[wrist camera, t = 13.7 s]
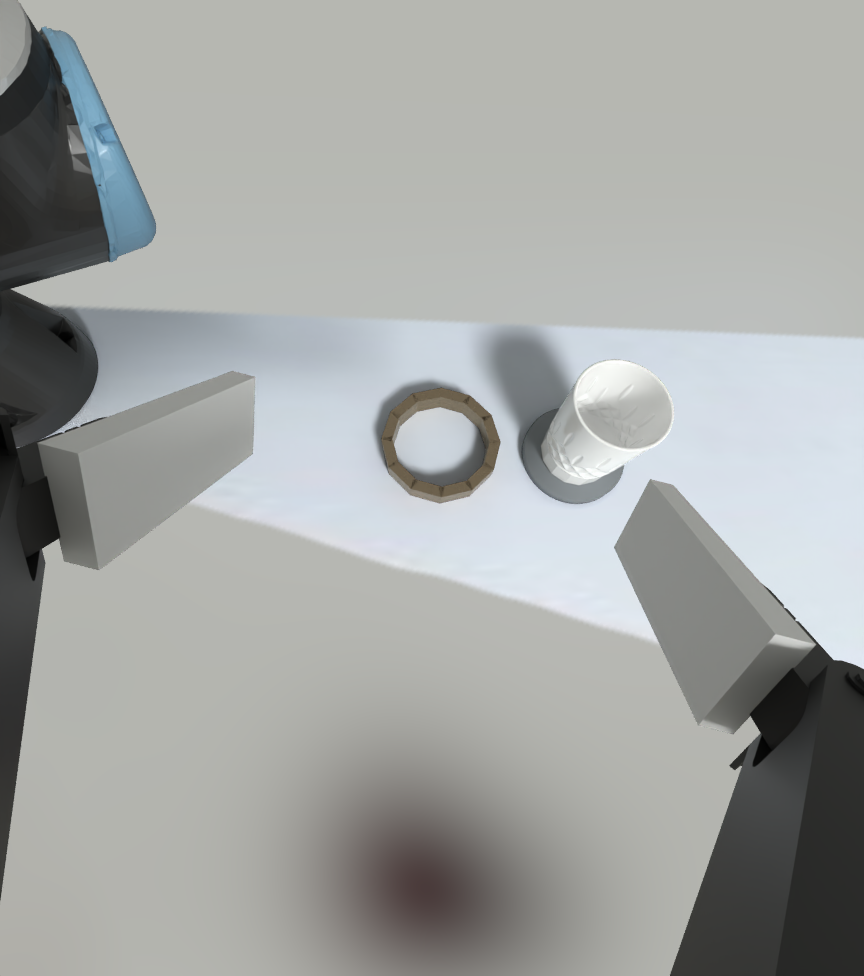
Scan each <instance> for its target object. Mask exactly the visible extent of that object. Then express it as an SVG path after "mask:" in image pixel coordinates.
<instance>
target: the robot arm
mask: <svg viewBox="0 0 864 976" xmlns="http://www.w3.org/2000/svg"><path fill="white" fill-rule="evenodd" d="M155 233H156V223H155V219H154V217H153V214H152V212H151V210H150V207H149V205H148V203H147V201H146V198H145V196H144V194H143V191H142V189H141V187H140V185H139V182H138V180H137V178H136V176H135V173H134V171H133V169H132V166H131V164H130V162H129V160H128V157H127V155H126V153H125V151H124V148H123V146H122V144H121V142H120V140H119V137H118V135H117V133H116V131H115V129H114V126H113V124H112V122H111V120H110V117H109V115H108V113H107V110H106V108H105V106H104V104H103V101H102V100H101V97H100V95H99V93H98V90H97V88H96V86H95V84H94V82H93V79H92V77H91V75H90V73H89V71H88V68H87V66H86V64H85V62H84V60H83V58H82V56H81V54H80V51H79V49H78V47H77V45H76V43H75V41H74V40H73V38H72V37H71V36H70V35H69V34H67V33H66V32H63V31H55V30H52V29H50V28H48V29H47V28H46V27H43V28H41V30H40V31H39V32H38V31H37V30H36V28H35V27H34V25H33V24H32V22H31V20H30V19H29V17H28V16H27V14H26V13H25V11H24V9H23V8H22V6H21V5H20V3H19V2H18V0H0V898H1V891H2V884H3V876H4V868H5V861H6V854H7V846H8V839H9V831H10V824H11V816H12V808H13V801H14V793H15V786H16V779H17V771H18V763H19V756H20V748H21V741H22V734H23V726H24V719H25V711H26V704H27V696H28V689H29V681H30V673H31V666H32V658H33V651H34V643H35V636H36V629H37V621H38V614H39V606H40V599H41V591H42V583H43V576H44V568H45V560H44V556H43V552H42V548H44V547H45V546H47V545H49V544H50V543H52V542H54V541H55V540H57V539H59V541H60V545H61V550H62V554H63V559H64V561H65V562H69V563H73V564H77V565H81V566H85V567H88V568H92V569H96V570H100V569H101V568H103V567H104V566H105V565H107V564H108V563H109V562H111V561H112V560H113V559H115V558H116V557H117V556H119V555H120V554H121V553H122V552H124V551H125V550H126V549H128V548H129V547H130V546H132V545H133V544H134V543H136V542H137V541H138V540H140V539H141V538H142V537H144V536H145V535H146V534H148V533H149V532H150V531H152V530H153V529H154V528H156V527H157V526H158V525H160V524H161V523H162V522H164V521H165V520H166V519H167V518H169V517H170V516H171V515H173V514H174V513H175V512H177V511H178V510H179V509H181V508H182V507H183V506H185V505H186V504H187V503H189V502H190V501H191V500H193V499H194V498H195V497H197V496H198V495H199V494H201V493H202V492H203V491H205V490H206V489H207V488H209V487H210V486H211V485H212V484H214V483H215V482H216V481H218V480H219V479H220V478H222V477H223V476H224V475H226V474H227V473H228V472H230V471H231V470H232V469H234V468H235V467H236V466H238V465H239V464H240V463H242V462H243V461H244V460H246V459H247V458H248V457H249V456H251V455H252V454H253V435H254V404H255V377H253V376H249V375H246V374H242V373H238V372H234V371H231V372H228V373H226V374H223V375H220V376H218V377H215V378H212V379H210V380H207V381H204V382H201V383H199V384H196V385H193V386H191V387H188V388H185V389H182V390H180V391H177V392H174V393H172V394H169V395H166V396H163V397H161V398H158V399H155V400H153V401H150V402H147V403H144V404H142V405H139V406H136V407H134V408H131V409H128V410H126V411H123V412H120V413H117V414H115V415H112V416H109V417H104V418H99V419H96V420H93V421H91V422H88V423H85V424H83V425H81V427H74V428H72V429H69V430H66V431H65V433H62V432H61V433H58V434H55V435H52V436H50V437H47V438H44V437H46V436H48V435H50V434H52V433H53V432H55V431H57V430H58V429H59V428H61V427H62V426H64V425H65V424H66V423H67V422H69V421H70V420H71V419H72V418H73V417H74V416H75V415H76V414H77V413H78V412H79V410H80V409H81V408H82V407H83V405H84V404H85V403H86V401H87V400H88V398H89V396H90V394H91V392H92V390H93V387H94V385H95V381H96V377H97V366H98V365H97V357H96V353H95V350H94V348H93V346H92V344H91V342H90V341H89V339H88V338H87V337H86V336H85V335H84V333H83V332H81V331H80V330H79V329H78V328H77V327H76V326H75V325H74V324H73V323H71V322H70V321H69V320H68V319H67V318H66V317H64V316H63V315H61V314H60V313H58V312H57V311H55V310H53V309H51V308H49V307H47V306H45V305H43V304H41V303H38V302H36V301H34V300H32V299H30V298H28V297H26V296H24V295H21V294H19V293H17V292H15V291H13V290H11V288H15V287H19V286H22V285H26V284H29V283H33V282H36V281H40V280H43V279H47V278H50V277H54V276H57V275H60V274H65V273H68V272H71V271H75V270H79V269H82V268H86V267H89V266H93V265H96V264H99V263H103V262H107V261H109V262H113V261H115V260H116V259H117V257H118V256H121V255H123V254H126V253H129V252H131V251H134V250H137V249H139V248H142V247H145V246H147V245H148V244H149V243H150V242H151V241H152V240H153V238H154V236H155ZM42 438H44V439H42ZM40 439H41V440H40ZM38 440H39V441H38ZM27 444H28V445H27ZM24 445H25V446H24ZM21 446H22V447H21ZM16 447H19V448H17V449H16ZM614 548H615V550H616V552H617V555H618V557H619V559H620V561H621V563H622V565H623V567H624V569H625V571H626V574H627V576H628V578H629V580H630V582H631V584H632V586H633V588H634V591H635V593H636V595H637V597H638V599H639V601H640V603H641V605H642V607H643V610H644V612H645V614H646V616H647V618H648V620H649V622H650V624H651V627H652V629H653V631H654V633H655V635H656V637H657V639H658V641H659V643H660V646H661V648H662V650H663V652H664V654H665V656H666V658H667V660H668V662H669V665H670V667H671V669H672V671H673V673H674V675H675V677H676V679H677V681H678V683H679V686H680V688H681V690H682V692H683V694H684V696H685V698H686V701H687V703H688V705H689V707H690V709H691V711H692V713H693V715H694V718H695V720H696V722H697V724H698V725H699V726H703V727H707V728H711V729H715V730H718V731H722V732H726V733H730V734H734V733H735V732H736V731H737V730H738V729H739V727H740V726H741V725H742V724H743V723H744V722H745V721H746V720H747V719H748V718H749V717H750V716H751V718H752V719H753V721H754V722H755V724H756V726H757V727H758V729H759V731H760V732H761V734H760V735H759V736H758V737H757V738H756V739H755V740H754V741H753V742H752V743H751V744H750V745H749V746H748V747H747V748H746V749H745V750H744V751H743V752H742V753H741V754H740V755H739V756H738V757H737V758H736V759H735V760H734V761H733V762H732V764H731V765H730V767H731V768H733V769H734V770H736V769H737V768H738V767H739V766H742V768H741V771H740V774H739V777H738V780H737V783H736V786H735V788H734V791H733V794H732V797H731V800H730V803H729V806H728V809H727V812H726V815H725V817H724V820H723V823H722V826H721V829H720V832H719V835H718V838H717V841H716V844H715V847H714V849H713V852H712V855H711V858H710V861H709V864H708V867H707V870H706V873H705V876H704V878H703V881H702V884H701V887H700V890H699V893H698V896H697V898H696V901H695V904H694V907H693V910H692V913H691V916H690V919H689V922H688V925H687V927H686V930H685V933H684V936H683V939H682V942H681V945H680V948H679V951H678V954H677V956H676V959H675V962H674V965H673V968H672V971H671V974H670V976H864V669H862V668H860V667H858V666H856V665H853V664H850V663H847V662H844V661H837V660H833V659H832V658H831V657H830V656H829V655H828V653H827V652H826V651H825V650H824V649H823V648H822V647H821V646H820V645H819V644H818V642H817V641H816V640H815V639H814V638H813V637H812V636H811V635H810V634H809V632H808V631H807V630H806V629H805V628H804V627H803V626H802V625H801V624H800V623H799V622H798V621H795V619H796V618H795V617H794V616H793V615H792V614H791V613H790V612H789V610H788V609H786V608H784V605H783V604H782V603H781V602H780V600H779V599H778V598H777V597H776V596H775V595H774V594H773V593H772V592H771V591H770V590H769V589H768V588H767V587H765V586H764V585H763V584H761V582H760V581H759V580H758V579H757V578H756V577H755V576H754V575H753V574H752V572H751V571H750V570H749V569H748V568H747V567H746V566H745V565H744V564H743V562H742V561H741V560H740V559H739V558H738V557H737V556H736V555H735V554H734V552H733V551H732V550H731V549H730V548H729V547H728V546H727V545H726V543H725V542H724V541H723V540H722V539H721V538H720V537H719V536H718V535H717V533H716V532H715V531H714V530H713V529H712V528H711V527H710V526H709V525H708V523H707V522H706V521H705V520H704V519H703V518H702V517H701V516H700V515H699V513H698V512H697V511H696V510H695V509H694V508H693V507H692V506H691V504H690V503H689V502H688V501H687V500H686V499H685V498H684V497H683V496H682V494H681V493H680V492H679V491H678V490H677V489H676V488H675V487H674V486H673V485H671V484H667V483H663V482H659V481H655V480H651V479H650V480H649V482H648V484H647V486H646V488H645V490H644V492H643V494H642V496H641V497H640V499H639V501H638V503H637V505H636V507H635V509H634V511H633V513H632V514H631V516H630V518H629V520H628V522H627V524H626V526H625V528H624V530H623V532H622V533H621V535H620V537H619V539H618V541H617V543H616V545H615V547H614Z"/></svg>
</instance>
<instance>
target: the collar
mask: <svg viewBox="0 0 864 976" xmlns="http://www.w3.org/2000/svg"><path fill="white" fill-rule="evenodd" d="M437 407H442V408H446V409H449V410H453V411H456V412H460V413H463V414H464V415H465V416H466V417H467V418H468V419H469V420H470V421H471V422H473V423H474V424H475V425H476V426H477V427H478V428H479V430H480V433H481V436H482V439H483V442H484V445H485V448H486V452H485V456H484V460H483V464H482V467H481V468H479V469H478V470H477V471H476V472H475V473H474V474H473V475H472V476H471V477H470V478H469V479H468V480H467V481H463V482H459V483H455V484H451V485H446V486H442V487H441V486H438V485H434V484H430V483H427V482H423V481H420V480H416V479H415V478H414V477H413V476H412V475H411V474H410V473H409V472H408V471H407V470H406V469H405V468H404V467H403V466H402V465H401V464H400V463H399V462H398V459H397V455H396V451H395V447H394V443H395V440H396V437H397V434H398V430H399V427H400V426H401V425H402V424H403V423H404V422H405V421H407V420H408V419H409V418H410V417H411V416H412V415H414V414H415V413H416V412H418V411H422V410H427V409H432V408H437ZM381 440H382V447H383V451H384V455H385V459H386V463H387V467H388V471H389V474H390V475H391V476H392V477H393V478H394V479H395V480H396V481H397V482H398V483H399V484H400V485H401V486H402V487H403V488H404V489H405V490H406V491H407V492H408V493H409V494H410V495H412V496H415V497H419V498H422V499H426V500H430V501H433V502H437V503H443V502H448V501H452V500H456V499H460V498H464V497H469V496H470V495H471V494H472V493H473V492H474V491H475V490H476V489H477V488H478V487H479V486H480V485H482V484H483V483H484V482H485V481H486V480H487V479H488V478H489V477H490V475H491V474H492V472H493V470H494V467H495V462H496V458H497V454H498V450H499V446H500V439H499V436H498V433H497V430H496V427H495V424H494V421H493V418H492V415H491V414H490V413H489V412H487V411H486V410H485V409H484V408H483V407H482V406H481V405H480V404H479V403H478V402H476V401H475V400H474V399H473V398H472V397H471V396H470V395H466V394H462V393H459V392H455V391H451V390H448V389H444V388H438V389H433V390H428V391H423V392H418V393H413V394H411V395H410V396H409V397H408V398H407V399H405V400H404V401H403V402H402V403H401V404H399V405H398V406H397V407H396V408H395V409H393V410H392V411H391V412H390V415H389V418H388V421H387V424H386V427H385V429H384V432H383V435H382V438H381Z"/></svg>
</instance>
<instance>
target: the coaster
mask: <svg viewBox="0 0 864 976" xmlns="http://www.w3.org/2000/svg"><path fill="white" fill-rule="evenodd" d="M559 409H560V408H558V409H555V410H551V411H549V412H547V413H545V414H543V415H542V416H540V417H539V418H538V419H537V420H536V421H535V422H534V423H533V425H532V426H531V428H530V429H529V431H528V432H527V434H526V436H525V439H524V442H523V448H522V456H523V462H524V466H525V469H526V471H527V473H528V475H529V477H530V479H531V480H532V481H533V483H534V484H535V485H536V486H537V487H538V488H539V489H540V490H541V491H543V492H544V493H545V494H547V495H548V496H550V497H552V498H554V499H556V500H559V501H561V502H565V503H571V504H583V503H589V502H592V501H595V500H597V499H599V498H601V497H602V496H604V495H605V494H607V493H608V492H610V491H611V490H612V489H613V488H614V487H615V486H616V484H617V483H618V481H619V480H620V478H621V475H622V472H623V468H624V465H623V466H621V467H619V468H617V469H616V470H614V471H613V472H611V473H609V474H607V475H604V476H602V477H601V478H599V479H598V480H596V481H594V482H591V483H587V484H583V485H575V484H570V483H565V482H563V481H562V480H560V479H559V478H557V477H556V476H554V475H553V474H551V472H550V471H549V469H548V468H547V466H546V465H545V463H544V461H543V458H542V450H541V445H542V442H543V439H544V437H545V434H546V432H547V431H548V429H549V427H550V425H551V423H552V421H553V419H554V417H555V416H556V414H557V412H558V411H559Z"/></svg>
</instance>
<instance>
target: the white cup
mask: <svg viewBox="0 0 864 976" xmlns="http://www.w3.org/2000/svg"><path fill="white" fill-rule="evenodd" d="M673 420H674V407H673V402H672V399H671V396H670V394H669V392H668V390H667V388H666V387H665V385H664V384H663V383H662V382H661V380H660V379H659V378H658V377H657V376H656V375H654V374H653V373H652V372H651V371H649V370H648V369H646V368H644V367H643V366H641V365H638V364H636V363H633V362H630V361H626V360H617V359H612V360H604V361H601V362H598V363H595V364H593V365H591V366H590V367H588V368H587V369H586V370H585V371H584V372H583V373H582V374H581V375H580V376H579V378H578V379H577V381H576V383H575V384H574V386H573V388H572V389H571V391H570V392H569V394H568V396H567V397H566V399H565V400H564V402H563V404H562V405H561V407H560V409H559V411H558V412H557V414H556V416H555V417H554V419H553V421H552V423H551V425H550V427H549V429H548V431H547V432H546V434H545V437H544V439H543V442H542V445H541V450H542V458H543V461H544V463H545V465H546V466H547V468H548V469H549V471H550V472H551V474H553V475H554V476H556V477H557V478H559V479H560V480H562V481H563V482H565V483H570V484H575V485H583V484H587V483H591V482H594V481H596V480H598V479H599V478H601V477H602V476H604V475H607V474H609V473H611V472H613V471H614V470H616V469H617V468H619V467H621V466H623V465H625V464H626V463H628V462H630V461H631V460H633V459H634V458H636V457H638V456H639V455H641V454H642V453H644V452H646V451H647V450H649V449H651V448H652V447H654V446H656V445H657V444H659V443H660V442H661V441H662V440H663V439H664V438H665V437H666V436H667V435H668V433H669V431H670V430H671V427H672V424H673Z"/></svg>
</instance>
